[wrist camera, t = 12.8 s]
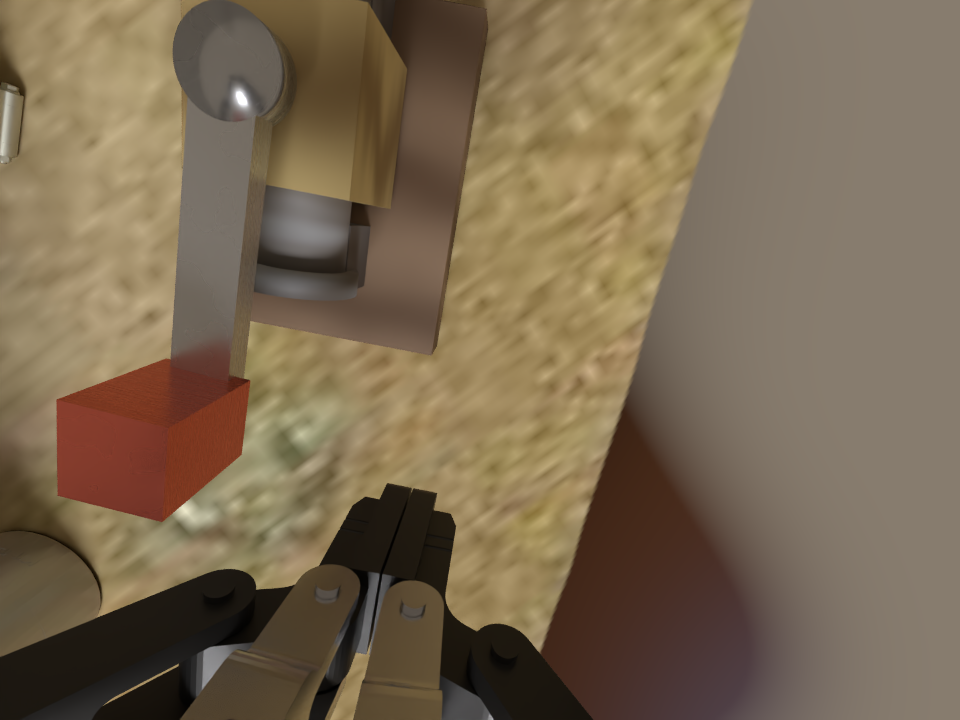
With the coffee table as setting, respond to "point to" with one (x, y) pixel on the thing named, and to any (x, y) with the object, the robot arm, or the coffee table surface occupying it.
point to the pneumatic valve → (9, 121)
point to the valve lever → (192, 285)
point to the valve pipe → (366, 166)
